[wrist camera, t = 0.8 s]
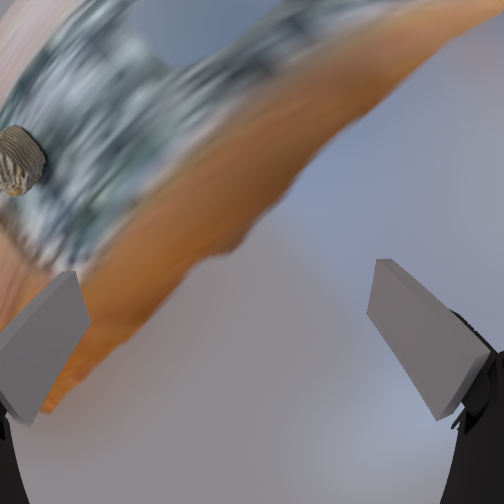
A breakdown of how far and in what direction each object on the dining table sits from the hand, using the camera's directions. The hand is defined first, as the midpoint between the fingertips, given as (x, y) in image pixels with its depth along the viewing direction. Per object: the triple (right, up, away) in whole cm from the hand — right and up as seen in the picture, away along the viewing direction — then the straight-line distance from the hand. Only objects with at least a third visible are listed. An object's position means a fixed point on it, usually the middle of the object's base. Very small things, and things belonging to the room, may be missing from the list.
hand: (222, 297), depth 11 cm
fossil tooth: (-35, +17, +20) cm, 44 cm away
